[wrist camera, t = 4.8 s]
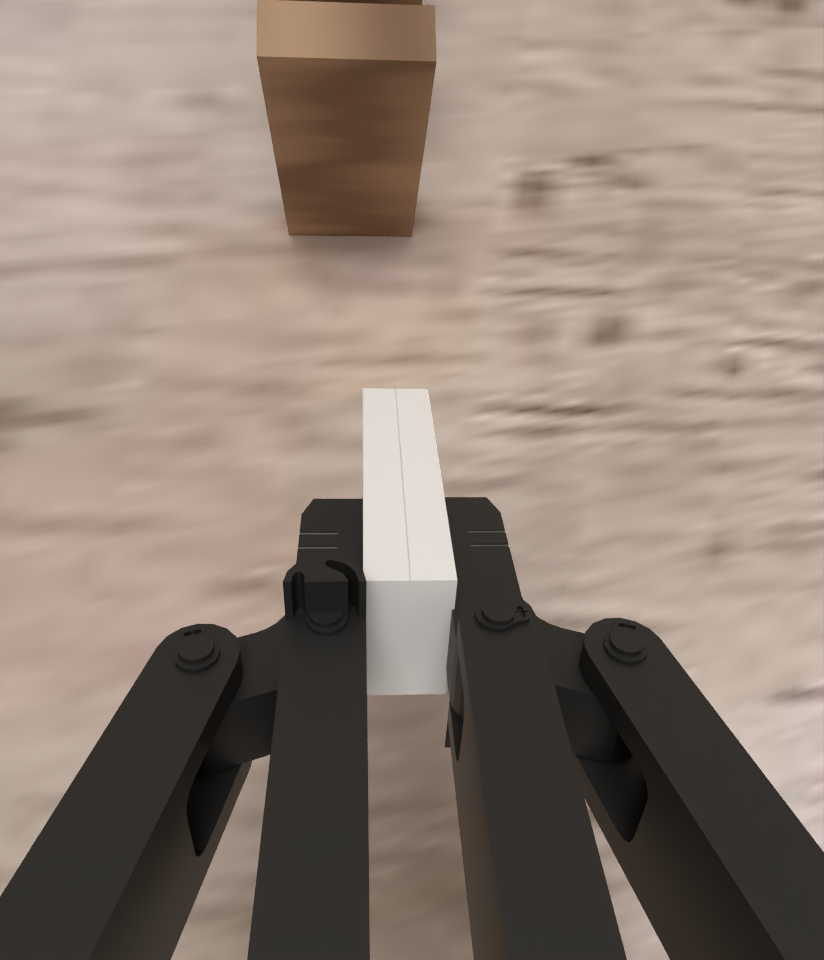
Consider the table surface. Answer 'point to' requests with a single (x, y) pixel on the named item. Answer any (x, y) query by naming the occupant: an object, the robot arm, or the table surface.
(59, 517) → the table surface
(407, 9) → the domino
